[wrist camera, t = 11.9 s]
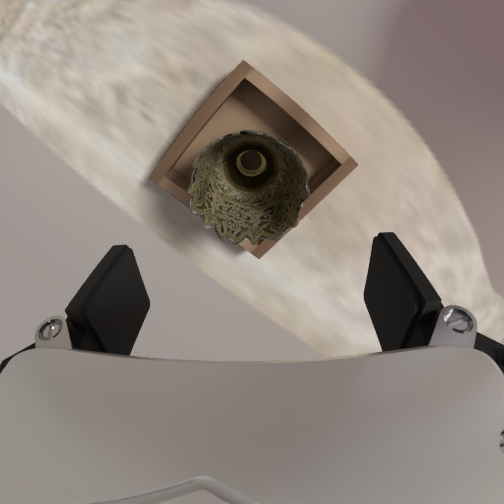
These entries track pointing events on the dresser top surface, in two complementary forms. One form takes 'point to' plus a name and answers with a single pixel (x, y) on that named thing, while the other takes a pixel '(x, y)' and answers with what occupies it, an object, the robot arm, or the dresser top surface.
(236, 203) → the olive round vessel
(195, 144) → the box
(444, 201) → the dresser top surface
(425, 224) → the dresser top surface
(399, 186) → the dresser top surface
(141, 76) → the dresser top surface
